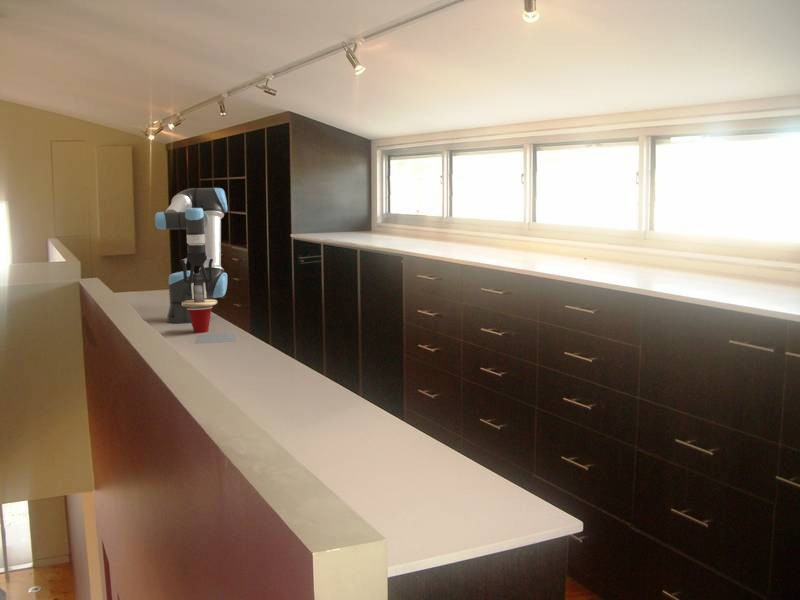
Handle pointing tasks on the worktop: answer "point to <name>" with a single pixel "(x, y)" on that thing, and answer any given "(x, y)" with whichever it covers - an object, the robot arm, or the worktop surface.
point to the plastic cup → (200, 318)
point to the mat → (216, 338)
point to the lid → (199, 298)
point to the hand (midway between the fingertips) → (199, 298)
